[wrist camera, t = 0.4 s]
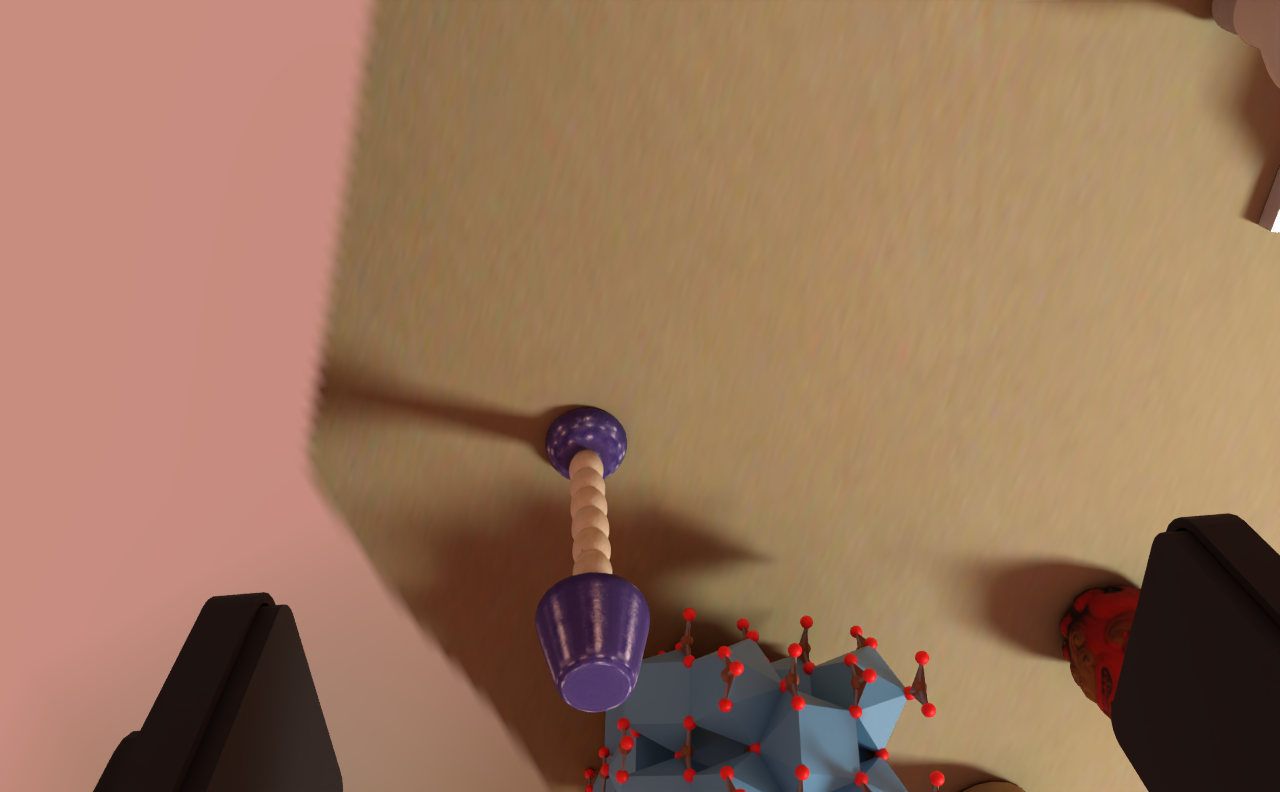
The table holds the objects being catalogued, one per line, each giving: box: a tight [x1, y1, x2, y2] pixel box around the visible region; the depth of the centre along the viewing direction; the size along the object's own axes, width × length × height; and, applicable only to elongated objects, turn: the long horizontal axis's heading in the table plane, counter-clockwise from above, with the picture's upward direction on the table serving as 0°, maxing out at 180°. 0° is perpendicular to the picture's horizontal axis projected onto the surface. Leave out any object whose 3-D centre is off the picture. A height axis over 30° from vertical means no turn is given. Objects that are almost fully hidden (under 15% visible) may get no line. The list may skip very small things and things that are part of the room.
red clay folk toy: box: [1060, 585, 1141, 719], centre depth 52 cm, size 8×7×15 cm
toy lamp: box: [535, 408, 650, 712], centre depth 43 cm, size 5×5×17 cm
